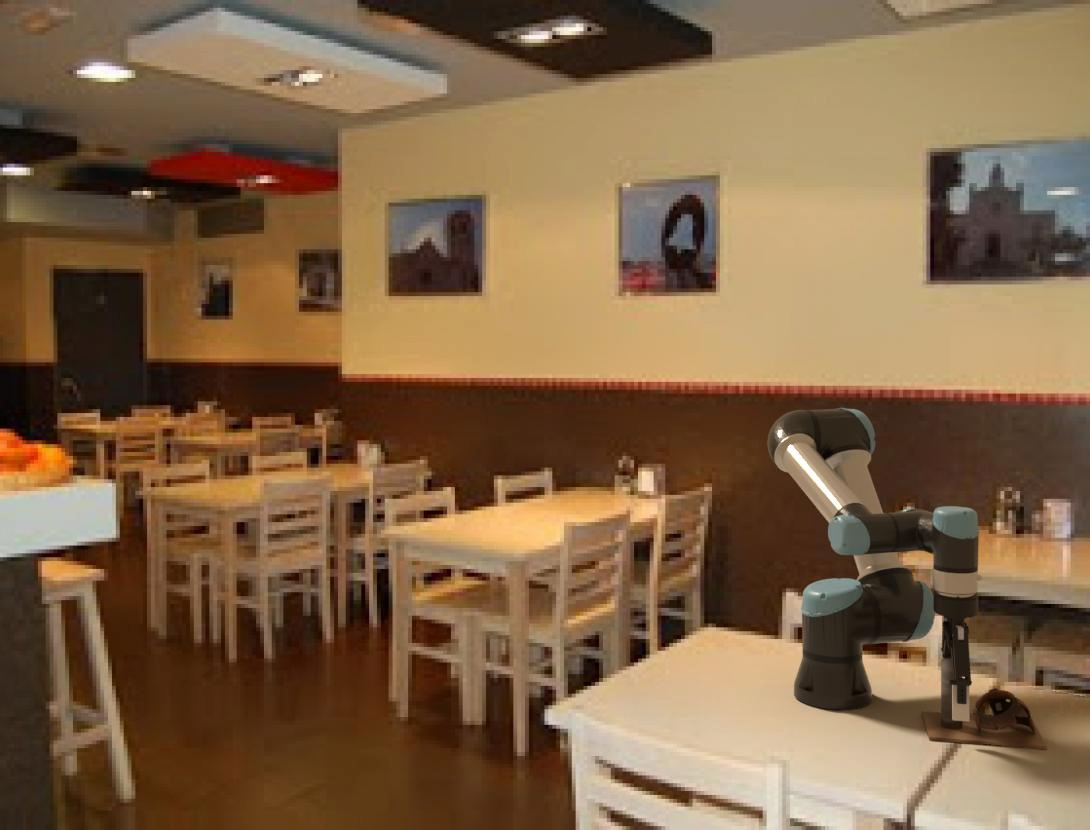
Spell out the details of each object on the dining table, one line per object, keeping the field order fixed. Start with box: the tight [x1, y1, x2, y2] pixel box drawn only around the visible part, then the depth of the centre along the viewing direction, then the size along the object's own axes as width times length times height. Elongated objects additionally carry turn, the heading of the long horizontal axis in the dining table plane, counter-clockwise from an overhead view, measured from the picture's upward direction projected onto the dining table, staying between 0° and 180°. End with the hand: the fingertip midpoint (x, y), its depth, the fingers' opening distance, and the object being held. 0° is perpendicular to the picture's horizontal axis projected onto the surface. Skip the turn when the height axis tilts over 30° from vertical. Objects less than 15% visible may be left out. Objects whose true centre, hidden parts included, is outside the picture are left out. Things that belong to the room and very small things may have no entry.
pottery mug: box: [974, 687, 1036, 735], centre depth 175 cm, size 12×10×8 cm
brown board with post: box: [921, 658, 1048, 751], centre depth 176 cm, size 19×13×13 cm
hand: (955, 707), depth 177 cm, fingers open, 13 cm apart
